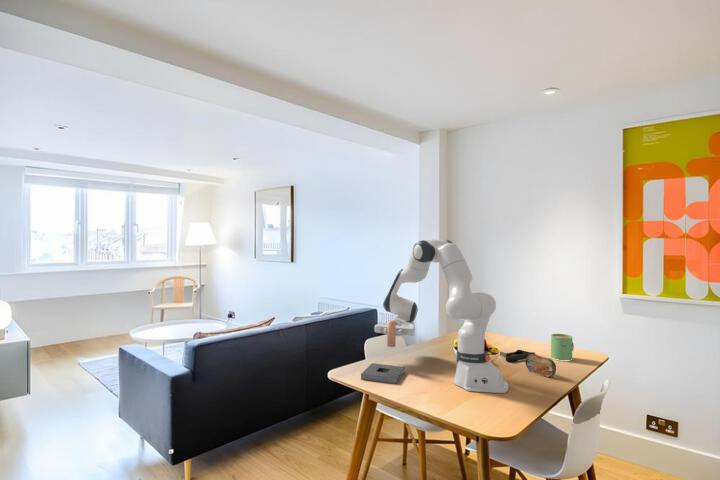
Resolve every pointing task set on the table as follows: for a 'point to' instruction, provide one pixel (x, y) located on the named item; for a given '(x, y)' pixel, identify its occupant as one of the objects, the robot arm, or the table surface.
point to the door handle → (516, 355)
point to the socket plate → (383, 373)
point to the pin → (391, 333)
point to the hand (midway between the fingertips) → (391, 332)
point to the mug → (561, 346)
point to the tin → (540, 365)
